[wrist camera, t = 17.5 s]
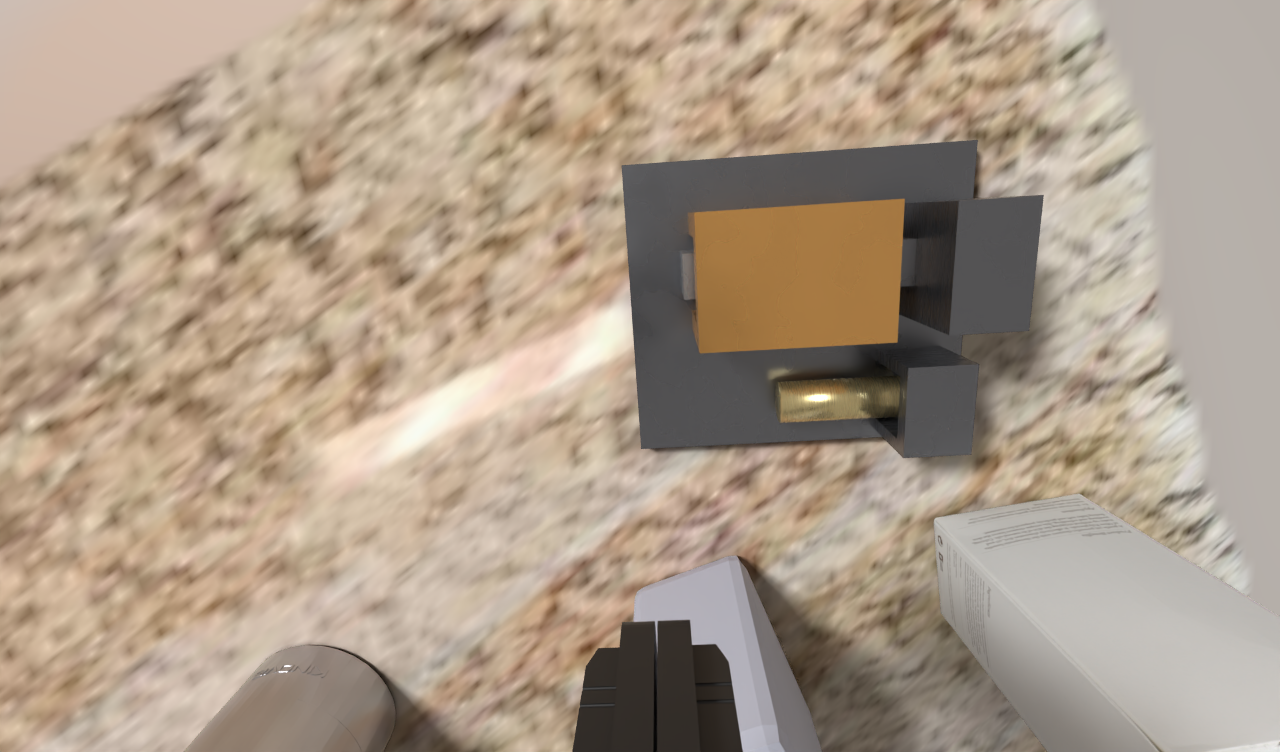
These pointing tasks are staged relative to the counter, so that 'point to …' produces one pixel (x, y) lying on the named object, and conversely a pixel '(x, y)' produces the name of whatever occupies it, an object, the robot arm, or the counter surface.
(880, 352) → the stand
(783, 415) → the pin
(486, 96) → the counter surface
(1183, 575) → the skincare box
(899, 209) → the block
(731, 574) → the soap bottle
